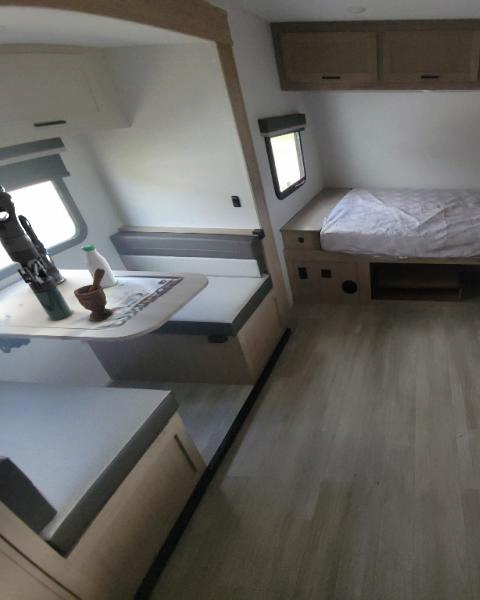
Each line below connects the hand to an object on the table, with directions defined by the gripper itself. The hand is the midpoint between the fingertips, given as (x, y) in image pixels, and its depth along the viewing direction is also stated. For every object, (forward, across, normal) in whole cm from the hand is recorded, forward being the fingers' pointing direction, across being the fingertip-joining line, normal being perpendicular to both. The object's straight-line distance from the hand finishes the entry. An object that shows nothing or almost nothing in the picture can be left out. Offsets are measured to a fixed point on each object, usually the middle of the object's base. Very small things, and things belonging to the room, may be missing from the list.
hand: (43, 285), depth 131 cm
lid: (+1, 0, 0) cm, 1 cm away
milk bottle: (+14, -24, +11) cm, 30 cm away
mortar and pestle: (+14, +6, +16) cm, 23 cm away
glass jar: (+14, 0, 0) cm, 14 cm away
